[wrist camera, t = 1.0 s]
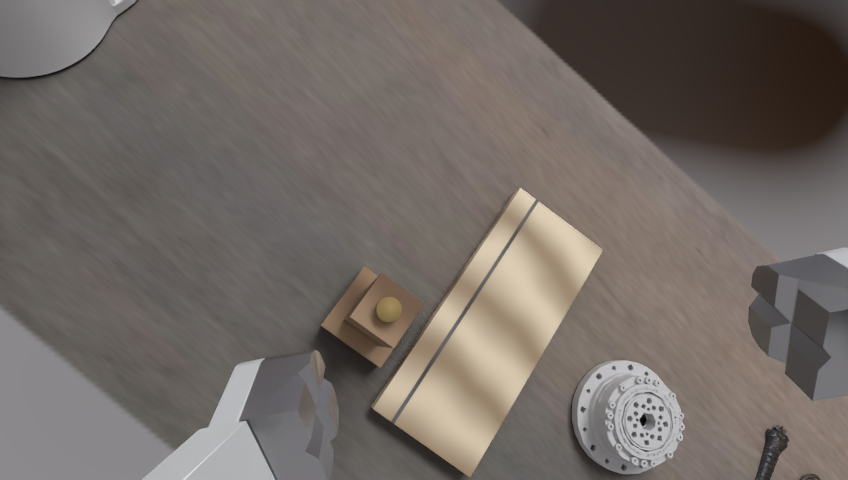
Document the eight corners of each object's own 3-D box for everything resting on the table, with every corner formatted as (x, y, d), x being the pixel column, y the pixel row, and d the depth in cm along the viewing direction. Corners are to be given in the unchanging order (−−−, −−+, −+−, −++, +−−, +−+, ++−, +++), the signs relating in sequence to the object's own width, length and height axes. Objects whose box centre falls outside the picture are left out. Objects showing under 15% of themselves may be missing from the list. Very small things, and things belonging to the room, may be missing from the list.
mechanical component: (564, 463, 46) (662, 476, 47) (590, 476, 41) (696, 490, 43) (575, 352, 48) (668, 368, 50) (599, 353, 44) (700, 371, 45)
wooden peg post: (377, 366, 44) (400, 377, 31) (320, 325, 43) (322, 321, 31) (416, 309, 45) (453, 298, 33) (361, 270, 45) (378, 244, 33)
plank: (464, 472, 44) (470, 477, 42) (370, 406, 43) (372, 408, 41) (594, 252, 50) (603, 249, 48) (514, 192, 49) (520, 187, 48)
